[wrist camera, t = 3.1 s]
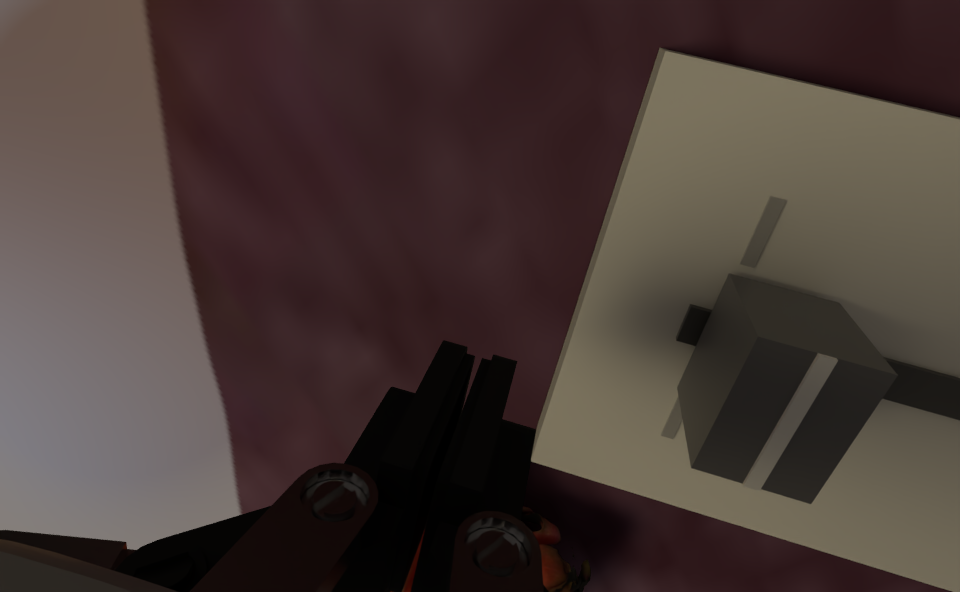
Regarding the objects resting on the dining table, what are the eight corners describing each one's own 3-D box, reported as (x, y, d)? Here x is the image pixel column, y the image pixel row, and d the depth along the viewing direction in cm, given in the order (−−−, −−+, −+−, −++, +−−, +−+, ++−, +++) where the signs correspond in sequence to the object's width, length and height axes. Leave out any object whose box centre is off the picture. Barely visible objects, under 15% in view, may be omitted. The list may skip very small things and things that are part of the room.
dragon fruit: (336, 487, 29) (573, 445, 27) (357, 676, 27) (615, 646, 25) (230, 513, 20) (559, 456, 18) (247, 790, 18) (620, 758, 16)
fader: (729, 273, 16) (759, 338, 12) (839, 302, 15) (900, 377, 12) (677, 387, 18) (691, 470, 14) (774, 415, 17) (812, 507, 14)
